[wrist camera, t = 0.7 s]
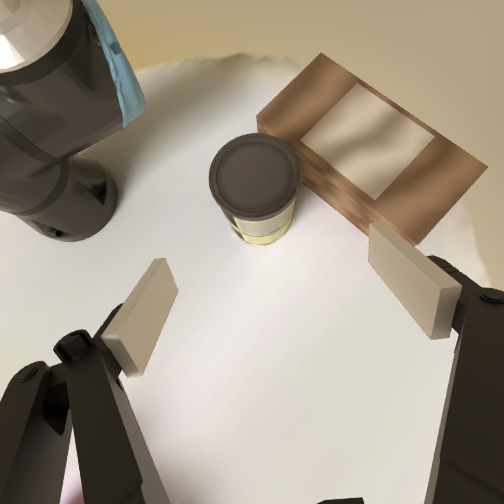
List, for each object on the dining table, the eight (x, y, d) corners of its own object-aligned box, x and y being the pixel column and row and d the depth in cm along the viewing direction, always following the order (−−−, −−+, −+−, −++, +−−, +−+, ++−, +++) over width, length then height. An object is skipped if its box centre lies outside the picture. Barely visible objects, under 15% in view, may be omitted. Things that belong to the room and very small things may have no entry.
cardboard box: (259, 146, 44) (256, 114, 36) (313, 93, 45) (321, 50, 37) (390, 255, 39) (419, 244, 31) (448, 191, 40) (490, 165, 32)
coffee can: (218, 228, 42) (190, 192, 28) (249, 177, 43) (238, 118, 29) (272, 258, 40) (271, 236, 26) (303, 204, 41) (318, 156, 28)
